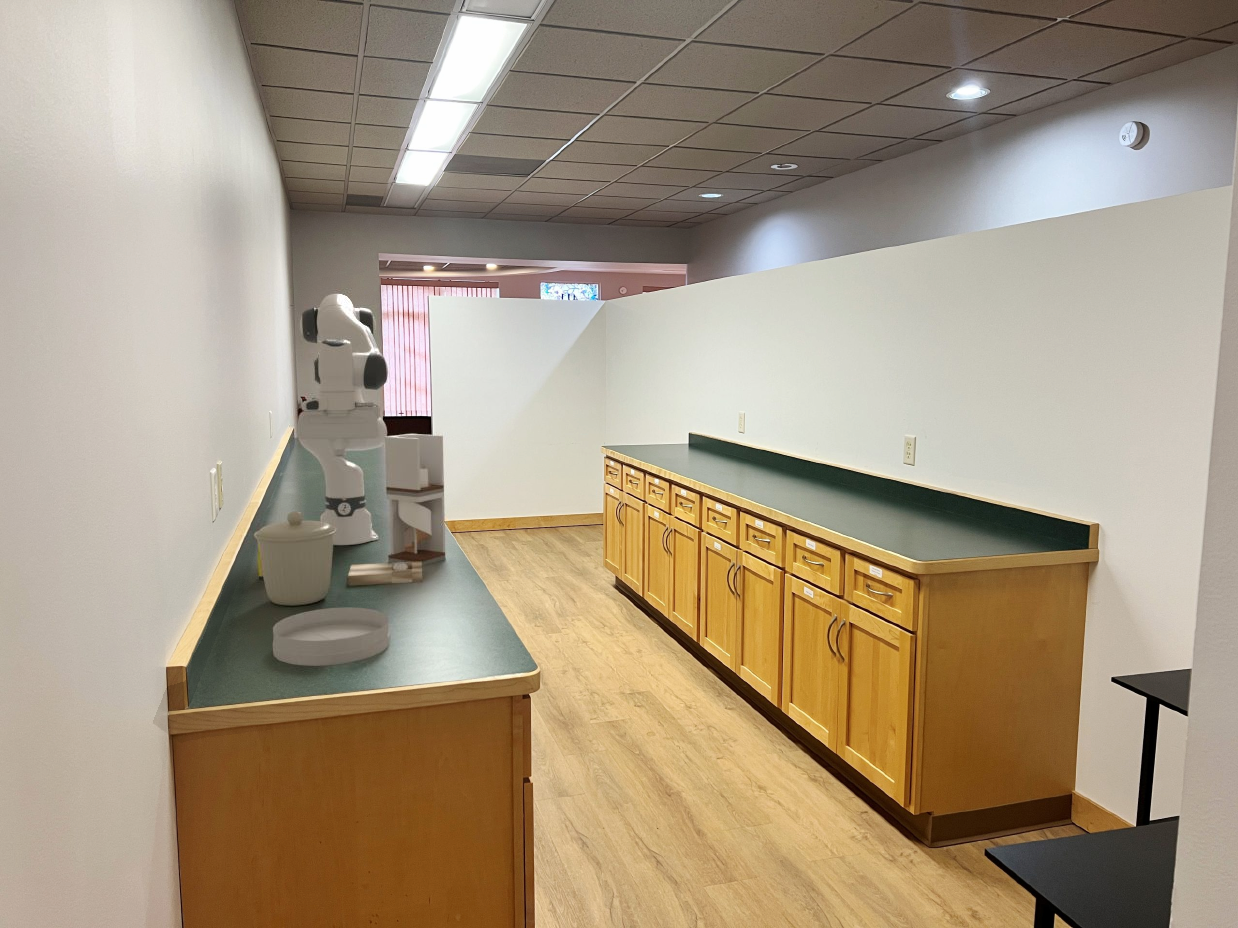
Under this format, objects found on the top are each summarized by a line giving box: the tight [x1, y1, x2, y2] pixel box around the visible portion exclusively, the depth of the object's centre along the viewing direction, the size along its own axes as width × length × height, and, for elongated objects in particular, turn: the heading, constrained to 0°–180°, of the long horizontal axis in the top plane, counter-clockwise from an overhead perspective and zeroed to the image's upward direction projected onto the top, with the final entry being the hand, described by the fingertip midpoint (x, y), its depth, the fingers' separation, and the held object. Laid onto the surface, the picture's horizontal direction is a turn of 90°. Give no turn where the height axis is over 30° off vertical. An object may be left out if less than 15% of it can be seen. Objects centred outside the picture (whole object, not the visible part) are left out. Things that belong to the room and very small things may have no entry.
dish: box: [272, 607, 391, 667], centre depth 174 cm, size 22×22×5 cm
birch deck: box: [347, 561, 423, 587], centre depth 227 cm, size 12×18×2 cm, turn 103°
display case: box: [384, 433, 446, 567], centre depth 244 cm, size 11×11×35 cm
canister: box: [253, 511, 337, 607], centre depth 205 cm, size 18×18×21 cm
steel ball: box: [393, 562, 408, 570], centre depth 228 cm, size 4×4×4 cm
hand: (339, 456), depth 228 cm, fingers closed
